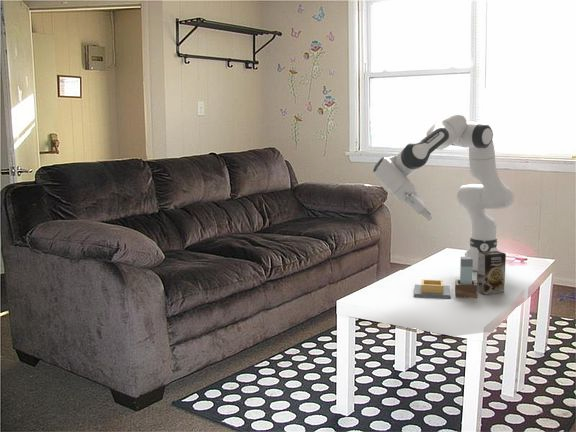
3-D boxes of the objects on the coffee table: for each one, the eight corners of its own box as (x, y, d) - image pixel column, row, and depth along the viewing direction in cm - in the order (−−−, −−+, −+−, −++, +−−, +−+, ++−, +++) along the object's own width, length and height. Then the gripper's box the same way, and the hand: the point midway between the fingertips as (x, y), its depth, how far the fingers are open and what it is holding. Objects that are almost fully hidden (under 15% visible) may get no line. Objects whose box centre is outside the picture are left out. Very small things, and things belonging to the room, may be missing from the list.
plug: (459, 293, 255) (460, 256, 253) (471, 293, 254) (472, 256, 252) (460, 296, 251) (461, 259, 249) (471, 296, 250) (472, 259, 248)
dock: (414, 287, 264) (415, 277, 264) (449, 288, 261) (449, 278, 261) (414, 296, 251) (414, 286, 250) (450, 298, 248) (450, 287, 247)
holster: (454, 291, 257) (455, 279, 256) (475, 292, 255) (475, 280, 255) (455, 297, 249) (456, 284, 249) (476, 298, 248) (477, 285, 247)
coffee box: (485, 294, 252) (486, 255, 249) (476, 290, 258) (477, 251, 256) (505, 292, 254) (506, 253, 252) (495, 288, 261) (497, 250, 258)
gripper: (411, 189, 240) (437, 215, 240) (411, 184, 260) (434, 209, 260) (399, 200, 242) (424, 226, 241) (400, 195, 262) (423, 219, 261)
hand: (430, 217), depth 251 cm, fingers open, 8 cm apart
